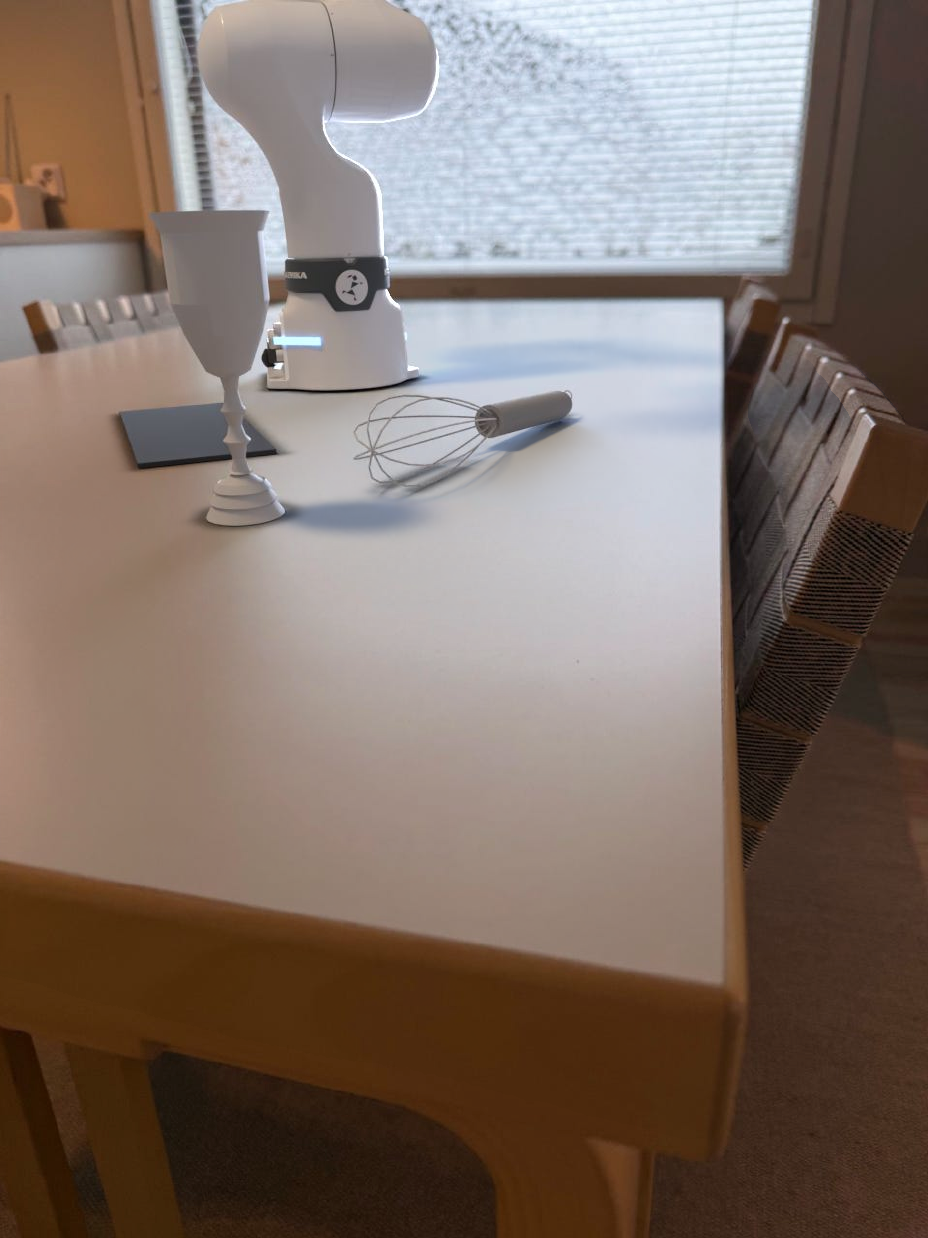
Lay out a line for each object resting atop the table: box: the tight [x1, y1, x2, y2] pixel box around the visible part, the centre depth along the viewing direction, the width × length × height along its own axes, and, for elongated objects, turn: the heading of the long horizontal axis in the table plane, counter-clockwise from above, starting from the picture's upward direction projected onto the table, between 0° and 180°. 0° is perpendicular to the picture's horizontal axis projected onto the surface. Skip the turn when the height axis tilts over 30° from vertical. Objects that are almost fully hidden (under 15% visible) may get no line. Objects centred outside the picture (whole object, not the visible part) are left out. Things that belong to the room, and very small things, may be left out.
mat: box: [118, 402, 278, 469], centre depth 86 cm, size 26×11×1 cm, turn 22°
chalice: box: [147, 209, 286, 527], centre depth 57 cm, size 7×7×18 cm
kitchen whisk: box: [352, 389, 573, 488], centre depth 75 cm, size 6×34×6 cm, turn 151°
